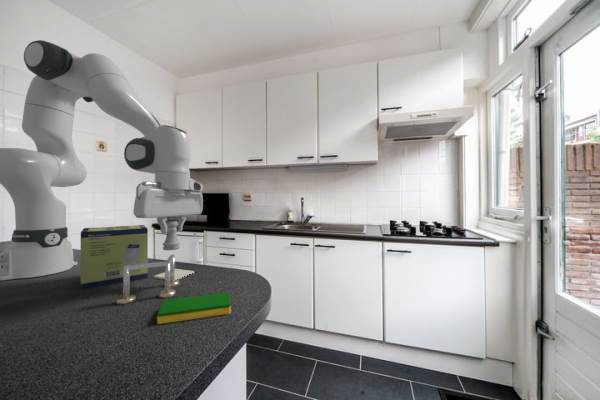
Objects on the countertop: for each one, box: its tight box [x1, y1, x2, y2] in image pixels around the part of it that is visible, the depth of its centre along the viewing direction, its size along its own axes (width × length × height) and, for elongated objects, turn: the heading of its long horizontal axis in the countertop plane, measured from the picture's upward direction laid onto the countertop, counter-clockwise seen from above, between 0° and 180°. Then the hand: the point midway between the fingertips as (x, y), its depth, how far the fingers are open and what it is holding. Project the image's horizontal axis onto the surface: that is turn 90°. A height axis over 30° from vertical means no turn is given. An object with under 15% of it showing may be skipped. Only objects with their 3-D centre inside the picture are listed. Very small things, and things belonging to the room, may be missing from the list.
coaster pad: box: [153, 268, 195, 280], centre depth 74 cm, size 8×8×1 cm
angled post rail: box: [116, 254, 180, 306], centre depth 60 cm, size 10×16×8 cm, turn 161°
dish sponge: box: [156, 292, 232, 325], centre depth 51 cm, size 7×14×2 cm, turn 110°
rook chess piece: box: [162, 220, 181, 251], centre depth 67 cm, size 4×4×8 cm
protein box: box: [80, 224, 149, 290], centre depth 71 cm, size 10×16×16 cm
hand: (172, 232), depth 67 cm, fingers closed on rook chess piece, 3 cm apart
